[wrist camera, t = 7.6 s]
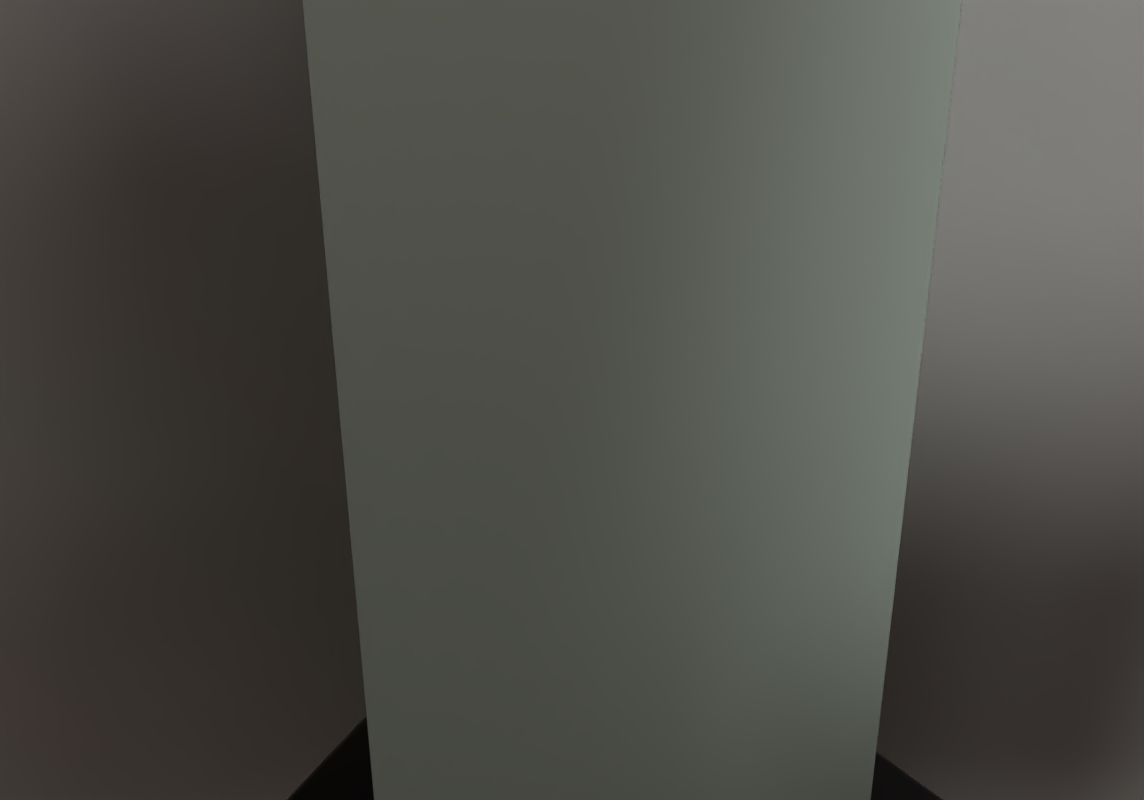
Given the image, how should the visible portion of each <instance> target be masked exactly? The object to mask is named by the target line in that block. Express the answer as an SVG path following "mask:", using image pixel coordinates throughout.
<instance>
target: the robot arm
mask: <svg viewBox="0 0 1144 800" xmlns="http://www.w3.org/2000/svg"><path fill="white" fill-rule="evenodd" d="M287 800H374V793H373V782H372V770H371V759H370V748H369V737H368V726H367V716H366V717H365V718H364V719H363V720H362V721H361V722H360V723H359V724H358V725H357V726H356V727H355V728H354V729H353V730H352V731H351V732H350V733H349V735H348V736H347V737H346V738H345V739H344V740H343V741H342V742H341V743H340V744H339V745H338V746H337V747H336V748H335V749H334V750H333V751H332V752H331V753H330V755H329V756H328V757H327V758H326V759H325V760H324V761H323V762H322V763H321V764H320V765H319V766H318V767H317V768H316V769H315V770H314V771H313V772H312V774H311V775H310V776H309V777H308V778H307V779H306V780H305V781H304V782H303V783H302V784H301V785H300V786H299V787H298V788H297V789H296V790H295V791H294V793H293V794H292V795H291V796H290V797H289V798H288V799H287ZM871 800H942V799H941V798H939V797H938V796H937V795H935V794H934V793H932V792H931V791H930V790H928V789H927V788H926V787H924V786H923V785H921V784H920V783H919V782H917V781H916V780H915V779H913V778H912V777H910V776H909V775H908V774H906V773H905V772H904V771H902V770H901V769H899V768H898V767H897V766H895V765H894V764H893V763H891V762H890V761H888V760H887V759H886V758H884V757H883V756H882V755H880V754H879V753H877V752H876V757H875V765H874V774H873V783H872V791H871Z"/></svg>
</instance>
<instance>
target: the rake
mask: <svg viewBox="0 0 1144 800" xmlns="http://www.w3.org/2000/svg"><path fill="white" fill-rule="evenodd" d="M302 1H303V12H304V23H305V35H306V46H307V57H308V68H309V79H310V90H311V101H312V113H313V124H314V135H315V146H316V157H317V168H318V180H319V191H320V202H321V213H322V224H323V235H324V246H325V258H326V269H327V280H328V291H329V302H330V313H331V324H332V336H333V347H334V358H335V369H336V380H337V391H338V403H339V414H340V425H341V436H342V447H343V458H344V469H345V481H346V492H347V503H348V514H349V525H350V536H351V547H352V559H353V570H354V581H355V592H356V603H357V614H358V626H359V637H360V648H361V659H362V670H363V681H364V692H365V704H366V715H367V726H368V737H369V748H370V759H371V770H372V782H373V793H374V800H871V791H872V783H873V774H874V765H875V757H876V748H877V739H878V730H879V722H880V713H881V704H882V696H883V687H884V678H885V669H886V661H887V652H888V643H889V635H890V626H891V617H892V608H893V600H894V591H895V582H896V574H897V565H898V556H899V547H900V539H901V530H902V521H903V513H904V504H905V495H906V486H907V478H908V469H909V460H910V452H911V443H912V434H913V425H914V417H915V408H916V399H917V391H918V382H919V373H920V364H921V356H922V347H923V338H924V330H925V321H926V312H927V303H928V295H929V286H930V277H931V269H932V260H933V251H934V242H935V234H936V225H937V216H938V208H939V199H940V190H941V181H942V173H943V164H944V155H945V147H946V138H947V129H948V120H949V112H950V103H951V94H952V86H953V77H954V68H955V59H956V51H957V42H958V33H959V24H960V16H961V7H962V0H302Z"/></svg>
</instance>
